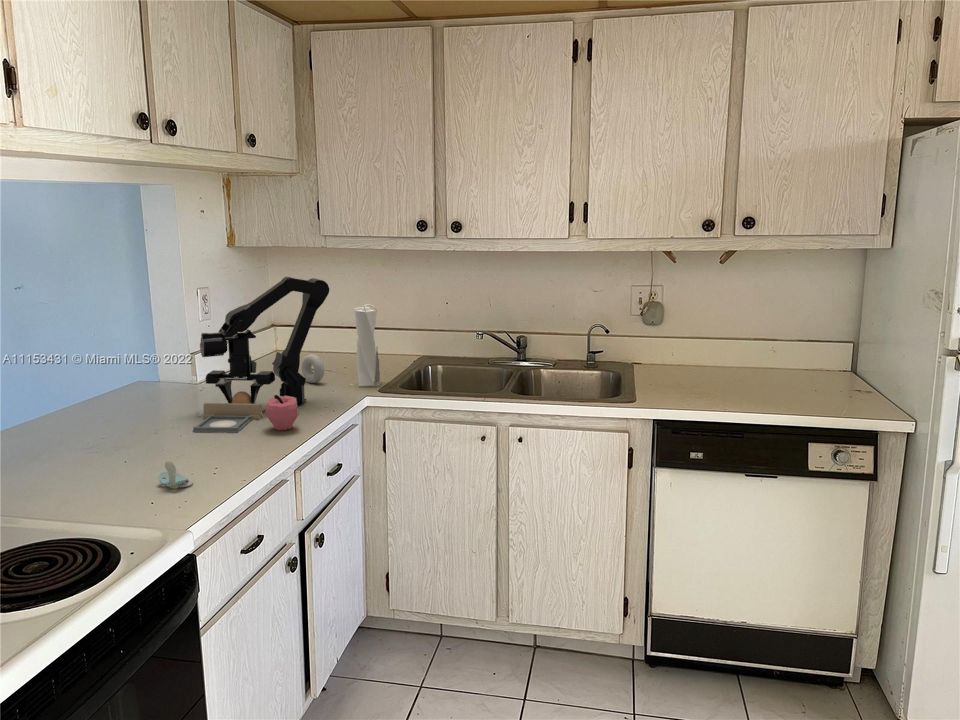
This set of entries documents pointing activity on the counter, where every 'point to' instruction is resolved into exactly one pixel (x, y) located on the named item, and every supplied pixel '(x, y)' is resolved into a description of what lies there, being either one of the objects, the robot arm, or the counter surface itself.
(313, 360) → the donut
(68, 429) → the counter surface
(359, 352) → the skyscraper
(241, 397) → the ball
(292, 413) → the apple
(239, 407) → the tan rectangular bar
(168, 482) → the pacifier
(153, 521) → the counter surface
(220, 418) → the mat
